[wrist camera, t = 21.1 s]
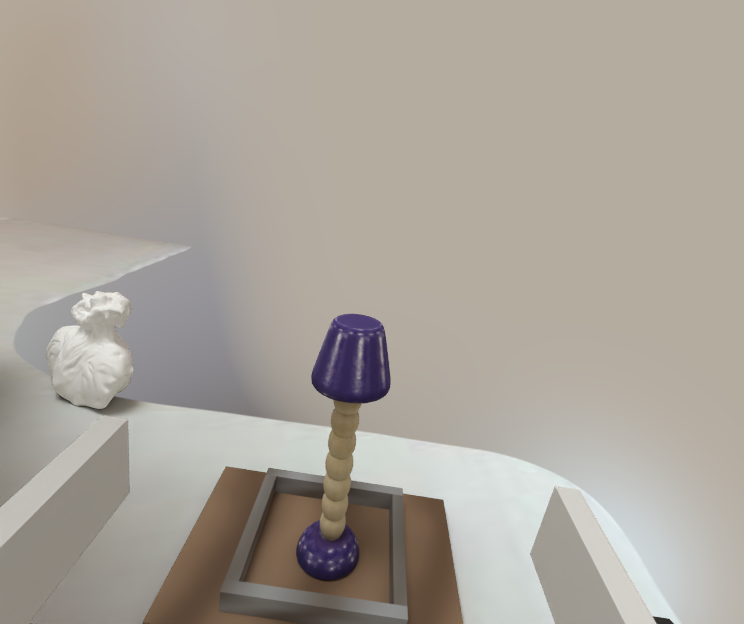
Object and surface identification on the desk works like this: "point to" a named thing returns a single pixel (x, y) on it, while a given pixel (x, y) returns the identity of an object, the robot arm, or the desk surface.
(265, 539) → the plate
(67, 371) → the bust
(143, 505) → the desk surface
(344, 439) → the toy lamp
